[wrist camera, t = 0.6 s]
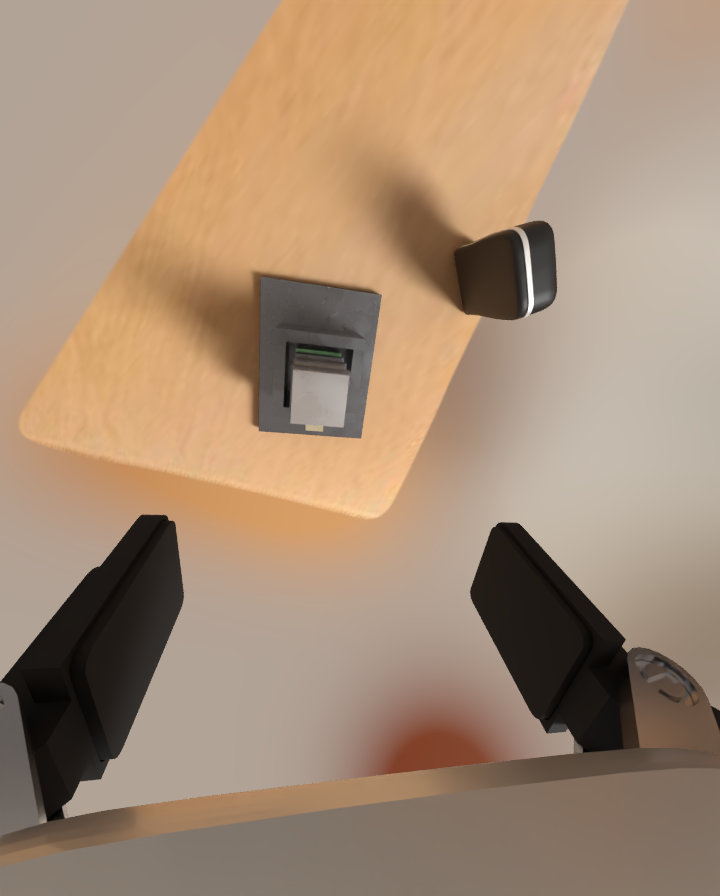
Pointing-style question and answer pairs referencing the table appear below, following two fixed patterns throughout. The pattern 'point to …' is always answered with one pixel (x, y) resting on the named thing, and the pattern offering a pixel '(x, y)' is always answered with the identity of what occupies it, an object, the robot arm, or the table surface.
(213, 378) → the table surface
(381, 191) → the table surface
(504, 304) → the battery charger
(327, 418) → the column
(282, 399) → the stand
